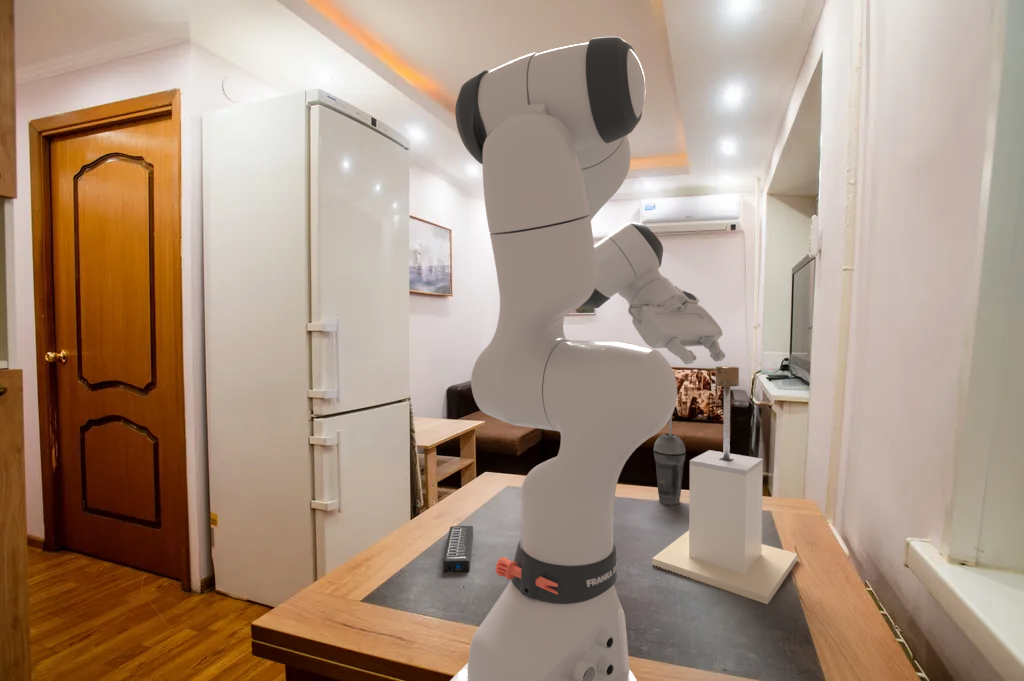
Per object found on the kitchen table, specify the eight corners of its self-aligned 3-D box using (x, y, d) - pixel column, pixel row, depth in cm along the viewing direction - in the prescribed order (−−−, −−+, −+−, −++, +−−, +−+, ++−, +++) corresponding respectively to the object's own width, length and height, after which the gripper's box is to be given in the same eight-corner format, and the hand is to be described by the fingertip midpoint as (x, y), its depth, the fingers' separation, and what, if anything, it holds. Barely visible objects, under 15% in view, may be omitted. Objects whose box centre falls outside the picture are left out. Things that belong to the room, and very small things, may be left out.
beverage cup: (681, 496, 118) (682, 412, 118) (689, 507, 111) (690, 418, 111) (650, 495, 119) (650, 411, 119) (656, 506, 112) (656, 417, 111)
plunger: (741, 484, 80) (742, 369, 79) (697, 475, 85) (698, 367, 84) (754, 474, 85) (755, 366, 85) (712, 466, 90) (713, 364, 89)
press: (767, 604, 73) (769, 483, 72) (652, 565, 85) (652, 461, 84) (797, 560, 86) (798, 458, 86) (694, 531, 98) (694, 441, 98)
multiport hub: (473, 537, 97) (473, 525, 97) (469, 574, 83) (469, 560, 83) (450, 537, 97) (450, 525, 97) (442, 575, 83) (442, 561, 83)
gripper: (634, 291, 86) (684, 350, 79) (699, 295, 99) (748, 346, 92) (614, 317, 90) (660, 376, 83) (679, 318, 103) (724, 368, 95)
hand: (707, 360), depth 87 cm, fingers open, 8 cm apart
